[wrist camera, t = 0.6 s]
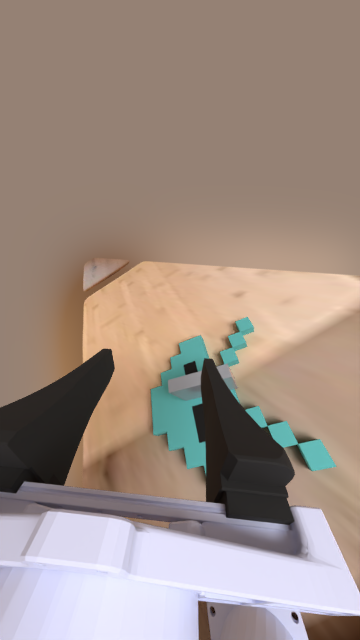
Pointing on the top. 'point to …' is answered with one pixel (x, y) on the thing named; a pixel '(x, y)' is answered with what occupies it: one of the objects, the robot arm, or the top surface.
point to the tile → (197, 383)
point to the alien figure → (188, 416)
